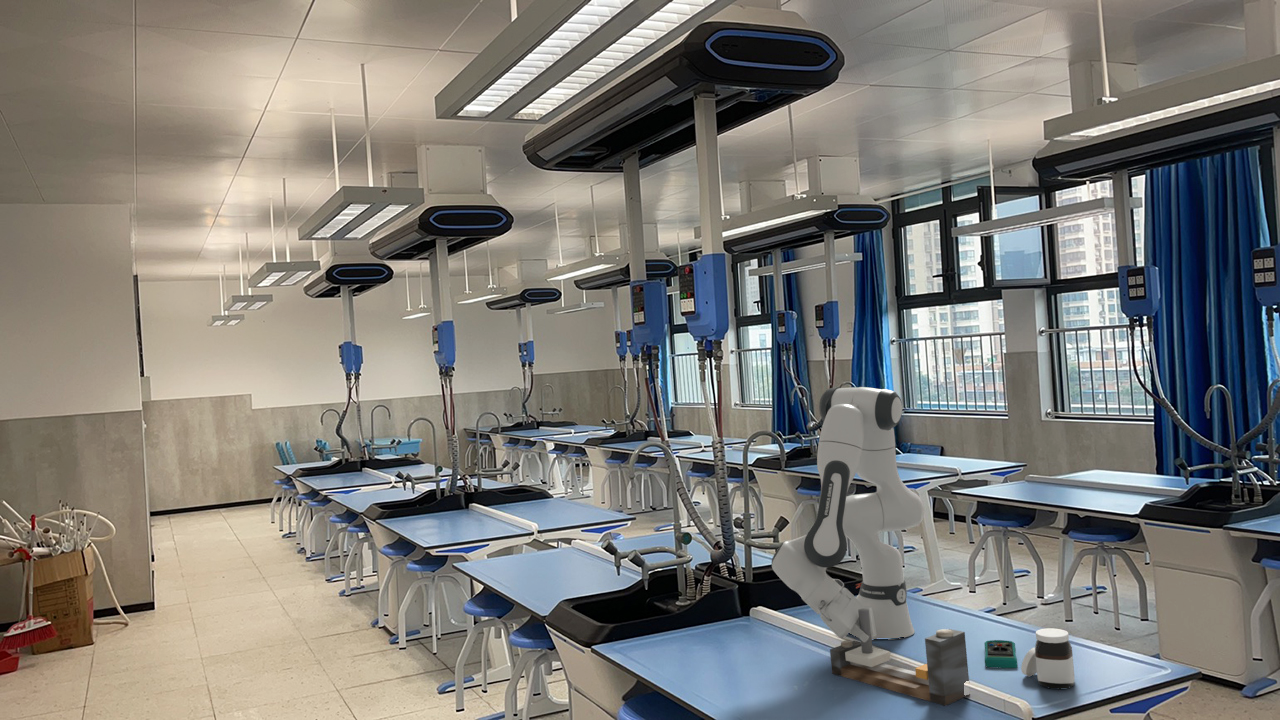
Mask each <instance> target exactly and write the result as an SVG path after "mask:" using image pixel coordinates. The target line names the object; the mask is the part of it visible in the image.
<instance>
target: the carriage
mask: <svg viewBox="0 0 1280 720" xmlns="http://www.w3.org/2000/svg"><path fill="white" fill-rule="evenodd" d="M858 614H859V626H860V629H861V630H862V631H863V632H864V631H865V632H866V633H867V634H868V635H869V639H868V640H867V641H866V642H863V641H862V640H860V642H861V647H858V648H855V649H853V650H850V651H847V652H845V657H846V661H850V662H854V663H857V664H861V665H865V666H869V667H874V666H876V665H879V664H881V663H884V664H885V662H888V661H891V651H889V650H886V649H881V648H876V647H874V646H873V640H872V637H871V626H870V615H869V609H859V610H858Z"/></svg>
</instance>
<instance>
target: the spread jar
mask: <svg viewBox="0 0 1280 720" xmlns="http://www.w3.org/2000/svg"><path fill="white" fill-rule="evenodd" d="M1035 639H1036V641H1035V645H1034V647H1032V648H1031V649H1029V650H1028V651H1027V652H1026V654H1025V655H1024V657H1023V659H1022V661H1021V667H1020V668H1021V673H1022V674H1023V675H1025V676H1027V677H1028V678H1031V677H1030V676H1032V675H1033V676H1035V675H1036V676H1037V681H1038V684H1039V685H1041V686H1042V687H1044V686H1045V687H1044V688H1047V687H1049V688H1048V689H1051V688H1059V689H1058V690H1062V689H1061V688H1067V689H1070V688H1072V687H1074V686H1075V677H1076V676H1075V670H1074V669H1075V667H1074V657H1073V647H1072V645H1071V642H1070V641H1069V639H1070V637H1069V632H1068V631H1067V630H1064V629H1060V628H1053V627H1052V628H1048V627H1047V628H1041V629H1038V630H1036V631H1035ZM1034 674H1035V675H1034ZM1033 676H1032V677H1033ZM1069 687H1070V688H1069Z"/></svg>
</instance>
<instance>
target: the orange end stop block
mask: <svg viewBox="0 0 1280 720" xmlns="http://www.w3.org/2000/svg"><path fill="white" fill-rule="evenodd" d="M914 671H915V672H916V677H918V678H922V679H925V680H928V668H927V663H925V664H923V665H920V666H918V667H915V669H914Z"/></svg>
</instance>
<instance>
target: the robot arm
mask: <svg viewBox="0 0 1280 720" xmlns="http://www.w3.org/2000/svg"><path fill="white" fill-rule="evenodd" d="M818 405H819V406H818V407H819V408H818V409H819V415H820V418H821V420H822V421H823V423H822V427H821V431H820V435H819V441H818V444H817V445H818V446H817V452H816V453H817V454H816V457H817V458H816V459H817V460H816V465H817V471H818V475H819V476H820V477H819V478H820V485H821V487H820V495H819V501H818V508H817V513H816V518H815V520H814V524H813V525H812V526H811V528H810V529H809V531H808V532H807V534H804V535H802V536H799V537H796V538H794V539H790V540H789V539H788V540H785V541H783V542H781V544H780V545H779V546H778V548H777V550H776V552H774V554H773V557H772V558H771V568H772V571H773V572H774V573H775V574H776V575H777V577H779V579H780V580H781V581H782V582H783V583H784V584H785V585H786V586H787V587H788V588H789V589H791V590H792V591H794V592H795V593H797V594H798V595H799V596H800V597H801V600H802V601H803V602H804V603H805V604H807V606H808V607H809V608H811V610H813V612H815V613H816V615H819V616H820V619H821V620H822V622H823V623H824V624H825V626H827V627H828V628H829V630H831V632H832V633H834V634H835V636H836V637H838V638H840V639H841V640H843V639H845V637H847V636H848V635H849V634H848V633H850V634H852V635H854V636H853V637H855V636H856V638H858V639H859V640H860V641H861V640H862V641H863V642H866V641H867V640H868V639H869V635H868V634H867V633H866V632H865V631H864V632H863V631H862V630H861V629H860V626H859V614H858V610H859V609H869V615H870V626H871V637H872V639H877V638H899V637H904V638H907V637H911V636H912V635H914V634H915V629H914V626H913V623H912V619H911V616H910V612H909V607H908V603H907V594H908V592H907V583H906V580H905V578H904V568H903V557H902V555H901V552H900V551H899V550H898V549H897V548H895V547H894V546H892V545H890V544H887V543H886V542H882V541H881V540H880V536H879V534H880V533H883V532H884V533H887V532H897V531H904V530H908V529H912V528H914V527H918V526H920V524H921V523H922V521H923V519H924V515H925V506H924V503H923V500H922V499H921V498H920V496H919V495H918V494H917V493H916V492H915V491H913V490H911V489H909V487H907V486H906V484H905V483H904V482H903V480H902V479H901V477H900V475H899V472H898V465H897V456H896V455H897V453H896V435H895V427H896V426H897V425H898V424H900V421H901V419H902V413H903V403H902V399H901V397H900V395H899V394H898V393H897V392H896V391H894V390H891V389H886V388H882V389H881V388H874V387H868V386H867V387H866V386H859V387H839V386H837V387H836V386H835V387H831V388H827V389H826V390H825V391H824V392H823V393H822V395H821V396H820V399H819V404H818ZM856 475H857V476H858V477H859V478H860V479H861V480H863V481H866V482H868V483H870V484H873V485H876V491H875V492H870V493H859V494H850V495H847V494H848V491H849V488H850V486H851V484H852V482H853V480H854V479H855V476H856ZM846 538H847V539H849V541H851V542H852V544H853V545H854V547H855V549H856V551H857V552H858V555H859V560H860V566H861V574H862V581H861V582H860V583H856V584H855V586H856V587H855V589H858V588H860V589H859V592H858V595H857V596H855V595H854V594H853V593H852V592H851V591H850V590H849V589H848V588H846V587H845V584H844V582H843V581H842V580H840V579H838V578H832V577H831V576H830V575H828V573H827V572H826V570H827V569H828V568H833V567H835V566H837V565H839V564H840V563H841V562H842V561H843V560H844V558H845V556H846V554H847V551H848V550H847V549H848V543H847V539H846ZM852 635H851V636H852ZM899 639H900V638H899Z"/></svg>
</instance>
